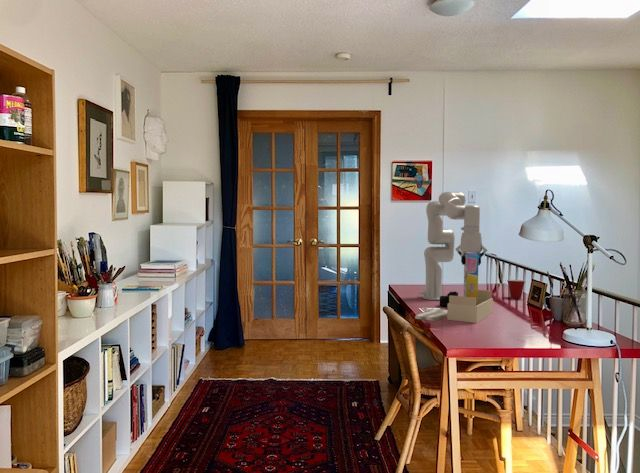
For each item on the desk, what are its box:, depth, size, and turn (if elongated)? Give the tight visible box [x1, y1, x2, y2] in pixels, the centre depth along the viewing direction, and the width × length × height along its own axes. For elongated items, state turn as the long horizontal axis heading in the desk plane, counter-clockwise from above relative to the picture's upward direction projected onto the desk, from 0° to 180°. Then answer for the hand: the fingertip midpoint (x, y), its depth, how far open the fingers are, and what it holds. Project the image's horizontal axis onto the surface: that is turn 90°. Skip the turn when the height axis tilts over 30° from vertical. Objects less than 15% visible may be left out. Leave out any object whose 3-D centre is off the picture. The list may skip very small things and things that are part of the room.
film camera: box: [439, 291, 459, 308], centre depth 290 cm, size 15×10×9 cm, turn 159°
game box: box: [463, 252, 479, 306], centre depth 262 cm, size 21×6×27 cm, turn 168°
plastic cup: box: [506, 279, 526, 300], centre depth 317 cm, size 11×11×12 cm
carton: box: [446, 289, 494, 324], centre depth 263 cm, size 15×29×12 cm, turn 147°
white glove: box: [414, 308, 447, 322], centre depth 264 cm, size 11×24×2 cm, turn 147°
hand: (471, 264), depth 262 cm, fingers closed on game box, 6 cm apart
